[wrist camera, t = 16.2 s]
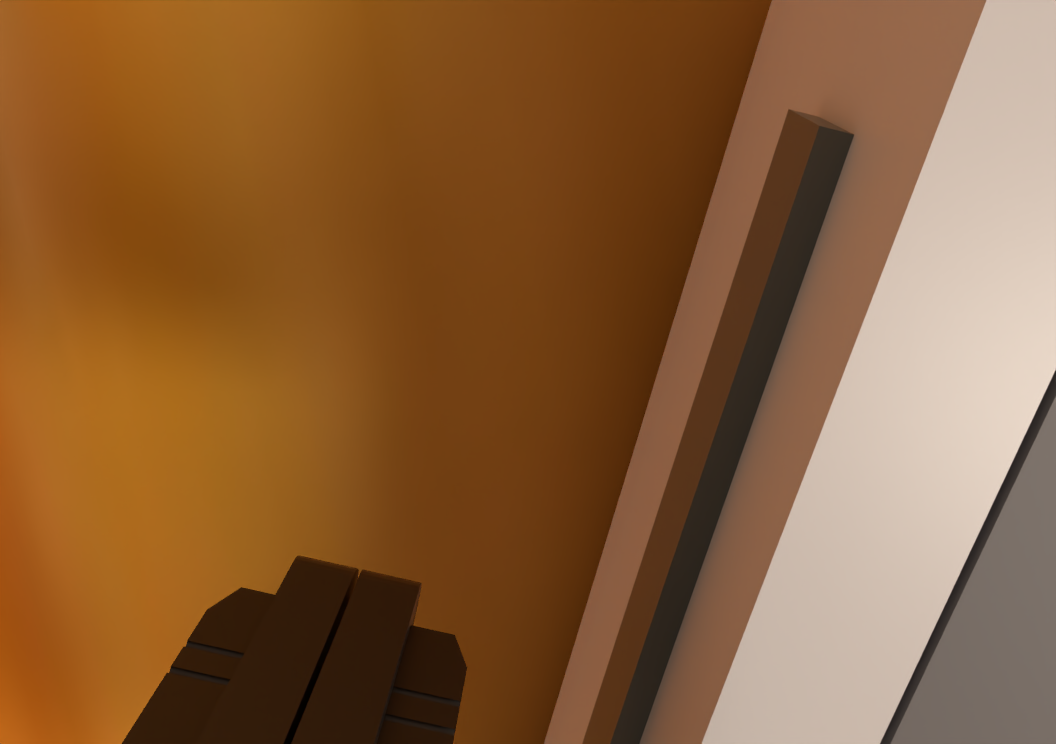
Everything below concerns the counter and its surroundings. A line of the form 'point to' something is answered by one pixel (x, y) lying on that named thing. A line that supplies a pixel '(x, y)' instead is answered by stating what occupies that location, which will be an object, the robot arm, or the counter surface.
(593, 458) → the counter surface
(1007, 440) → the drawer
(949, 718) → the cabinet
